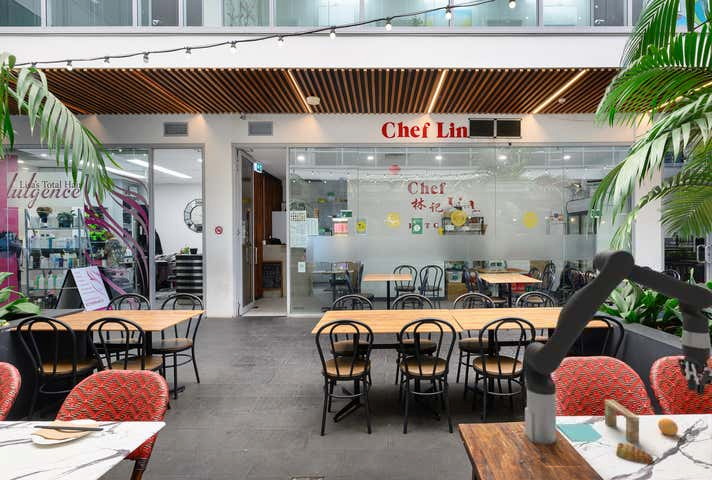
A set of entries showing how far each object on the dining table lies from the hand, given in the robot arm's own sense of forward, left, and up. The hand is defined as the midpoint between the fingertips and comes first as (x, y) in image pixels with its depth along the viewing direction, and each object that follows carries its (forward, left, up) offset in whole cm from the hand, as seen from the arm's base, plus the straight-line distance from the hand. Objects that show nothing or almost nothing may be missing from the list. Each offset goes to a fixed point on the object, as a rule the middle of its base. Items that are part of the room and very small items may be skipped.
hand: (695, 392), depth 137 cm
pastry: (-31, -16, -16) cm, 38 cm away
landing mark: (-40, 0, -15) cm, 42 cm away
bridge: (-26, 0, -15) cm, 30 cm away
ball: (-10, 0, -12) cm, 16 cm away
